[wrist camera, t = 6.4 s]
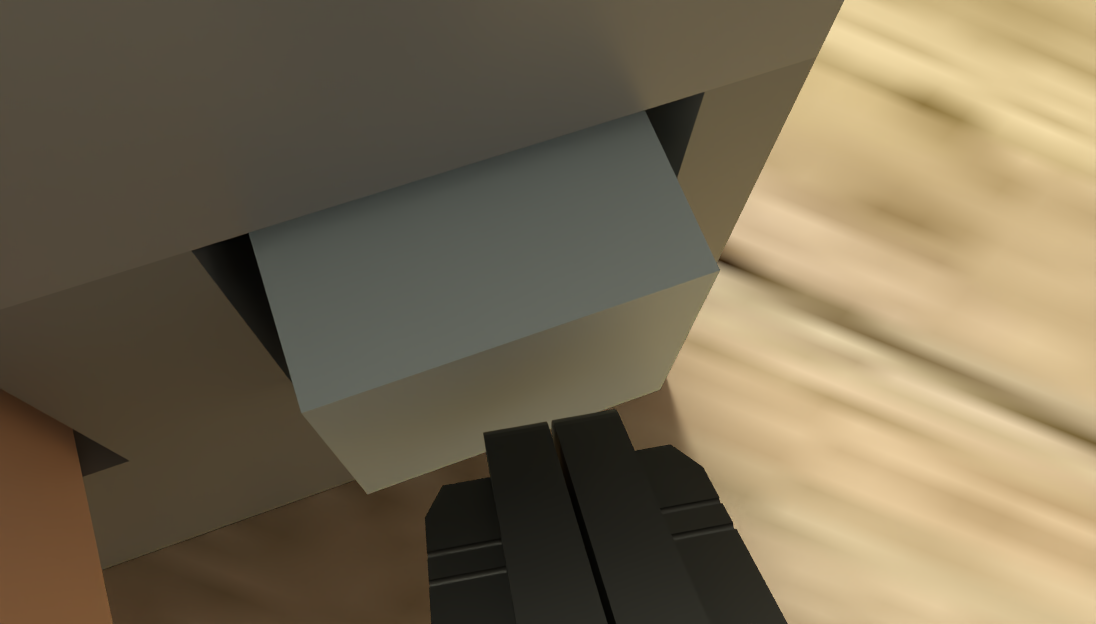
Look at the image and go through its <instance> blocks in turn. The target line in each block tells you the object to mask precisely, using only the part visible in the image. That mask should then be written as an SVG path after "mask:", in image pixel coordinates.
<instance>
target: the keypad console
mask: <svg viewBox="0 0 1096 624" xmlns="http://www.w3.org/2000/svg"><path fill="white" fill-rule="evenodd" d="M843 2H844V0H0V389H2V390H4V391H6V392H7V393H9V394H11V395H13V396H15V397H16V398H18V399H20V400H22V401H24V402H25V403H27V404H29V405H31V406H33V407H34V408H36V409H38V410H40V411H41V412H43V413H45V414H47V415H49V416H50V417H52V418H54V419H56V420H58V421H59V422H61V423H63V424H65V425H66V426H68V427H70V428H72V429H73V434H74V439H75V443H76V448H77V453H78V458H79V463H80V467H81V472H82V477H83V482H84V487H85V491H86V496H87V501H88V506H89V511H90V515H91V520H92V525H93V530H94V535H95V540H96V544H97V549H98V554H99V559H100V564H101V568H102V570H103V569H106V568H109V567H111V566H114V565H117V564H120V563H123V562H126V561H128V560H131V559H134V558H137V557H140V556H142V555H145V554H148V553H151V552H154V551H157V550H159V549H162V548H165V547H168V546H171V545H173V544H176V543H179V542H182V541H185V540H188V539H190V538H193V537H196V536H199V535H202V534H204V533H207V532H210V531H213V530H216V529H219V528H221V527H224V526H227V525H230V524H233V523H235V522H238V521H241V520H244V519H247V518H250V517H252V516H255V515H258V514H261V513H264V512H266V511H269V510H272V509H275V508H278V507H281V506H283V505H286V504H289V503H292V502H295V501H297V500H300V499H303V498H306V497H309V496H312V495H314V494H317V493H320V492H323V491H326V490H328V489H331V488H334V487H337V486H340V485H343V484H345V483H348V482H351V481H354V480H355V478H354V477H353V476H352V475H351V474H350V472H349V471H348V470H347V469H346V467H345V466H344V465H343V464H342V463H341V461H340V460H339V459H338V458H337V456H336V455H335V454H334V453H333V451H332V450H331V449H330V448H329V447H328V445H327V444H326V443H325V442H324V440H323V439H322V438H321V437H320V435H319V434H318V433H317V432H316V431H315V429H314V428H313V427H312V426H311V424H310V423H309V422H308V421H307V420H306V418H305V417H304V416H303V415H302V413H301V410H300V407H299V404H298V400H297V397H296V393H295V390H294V386H293V383H292V380H291V376H290V373H289V369H288V366H287V362H286V359H285V356H284V352H283V349H282V345H281V342H280V339H279V335H278V332H277V328H276V325H275V321H274V318H273V315H272V311H271V308H270V304H269V301H268V298H267V294H266V291H265V287H264V284H263V280H262V277H261V274H260V270H259V267H258V263H257V260H256V256H255V253H254V250H253V246H252V243H251V239H250V236H249V233H250V232H253V231H256V230H259V229H262V228H266V227H269V226H272V225H275V224H279V223H282V222H285V221H288V220H292V219H295V218H298V217H301V216H304V215H308V214H311V213H314V212H317V211H321V210H324V209H327V208H330V207H334V206H337V205H340V204H343V203H346V202H350V201H353V200H356V199H359V198H363V197H366V196H369V195H372V194H376V193H379V192H382V191H385V190H388V189H392V188H395V187H398V186H401V185H405V184H408V183H411V182H414V181H418V180H421V179H424V178H427V177H430V176H434V175H437V174H440V173H443V172H447V171H450V170H453V169H456V168H460V167H463V166H466V165H469V164H472V163H476V162H479V161H482V160H485V159H489V158H492V157H495V156H498V155H502V154H505V153H508V152H511V151H514V150H518V149H521V148H524V147H527V146H531V145H534V144H537V143H540V142H544V141H547V140H550V139H553V138H556V137H560V136H563V135H566V134H569V133H573V132H576V131H579V130H582V129H586V128H589V127H592V126H595V125H599V124H602V123H605V122H608V121H611V120H615V119H618V118H621V117H624V116H628V115H631V114H634V113H637V112H641V111H644V110H645V112H646V114H647V116H648V118H649V120H650V122H651V124H652V126H653V129H654V131H655V133H656V135H657V137H658V139H659V141H660V144H661V146H662V148H663V150H664V152H665V154H666V156H667V158H668V161H669V163H670V165H671V167H672V169H673V171H674V173H675V175H676V178H677V180H678V182H679V184H680V186H681V188H682V190H683V193H684V195H685V197H686V199H687V201H688V203H689V205H690V207H691V210H692V212H693V214H694V216H695V218H696V220H697V222H698V224H699V227H700V229H701V231H702V233H703V235H704V237H705V239H706V242H707V244H708V246H709V248H710V250H711V252H712V254H713V256H714V259H715V261H716V263H717V261H718V259H719V257H720V255H721V253H722V251H723V249H724V247H725V245H726V243H727V241H728V239H729V237H730V235H731V233H732V230H733V228H734V226H735V224H736V222H737V220H738V218H739V216H740V214H741V212H742V210H743V208H744V206H745V204H746V202H747V200H748V197H749V195H750V193H751V191H752V189H753V187H754V185H755V183H756V181H757V179H758V177H759V175H760V173H761V171H762V169H763V167H764V165H765V162H766V160H767V158H768V156H769V154H770V152H771V150H772V148H773V146H774V144H775V142H776V140H777V138H778V136H779V134H780V132H781V129H782V127H783V125H784V123H785V121H786V119H787V117H788V115H789V113H790V111H791V109H792V107H793V105H794V103H795V101H796V99H797V96H798V94H799V92H800V90H801V88H802V86H803V84H804V82H805V80H806V78H807V76H808V74H809V72H810V70H811V68H812V66H813V64H814V61H815V59H816V57H817V55H818V53H819V51H820V49H821V47H822V45H823V43H824V41H825V39H826V37H827V35H828V33H829V31H830V28H831V26H832V24H833V22H834V20H835V18H836V16H837V14H838V12H839V10H840V8H841V6H842V4H843Z"/></svg>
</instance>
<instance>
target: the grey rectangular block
mask: <svg viewBox="0 0 1096 624" xmlns="http://www.w3.org/2000/svg"><path fill="white" fill-rule="evenodd" d="M249 236H250V239H251V243H252V246H253V250H254V253H255V256H256V260H257V263H258V267H259V270H260V274H261V277H262V280H263V284H264V287H265V291H266V294H267V298H268V301H269V304H270V308H271V311H272V315H273V318H274V321H275V325H276V328H277V332H278V335H279V339H280V342H281V345H282V349H283V352H284V356H285V359H286V362H287V366H288V369H289V373H290V376H291V380H292V383H293V386H294V390H295V393H296V397H297V400H298V404H299V407H300V410H301V413H302V415H303V416H304V417H305V418H306V420H307V421H308V422H309V423H310V424H311V426H312V427H313V428H314V429H315V431H316V432H317V433H318V434H319V435H320V437H321V438H322V439H323V440H324V442H325V443H326V444H327V445H328V447H329V448H330V449H331V450H332V451H333V453H334V454H335V455H336V456H337V458H338V459H339V460H340V461H341V463H342V464H343V465H344V466H345V467H346V469H347V470H348V471H349V472H350V474H351V475H352V476H353V477H354V478H355V480H356V481H357V482H358V483H359V485H360V486H361V487H362V488H363V490H364V491H365V492H366V493H367V494H370V493H373V492H376V491H379V490H381V489H384V488H387V487H390V486H393V485H395V484H398V483H401V482H404V481H407V480H409V479H412V478H415V477H418V476H421V475H423V474H426V473H429V472H432V471H435V470H437V469H440V468H443V467H446V466H449V465H451V464H454V463H457V462H460V461H463V460H465V459H468V458H471V457H474V456H476V455H479V454H482V453H485V452H486V448H485V442H484V436H483V432H488V431H494V430H500V429H505V428H511V427H517V426H523V425H528V424H534V423H540V422H545V421H547V423H548V426H549V429H552V428H551V422H552V420H556V419H561V418H567V417H573V416H578V415H584V414H590V413H596V412H599V411H602V410H605V409H608V408H611V407H613V406H616V405H619V404H622V403H625V402H627V401H630V400H633V399H636V398H639V397H641V396H644V395H647V394H650V393H653V392H655V391H658V390H660V389H661V387H662V385H663V383H664V381H665V379H666V377H667V375H668V373H669V371H670V369H671V367H672V365H673V363H674V361H675V359H676V357H677V355H678V353H679V351H680V349H681V347H682V345H683V343H684V341H685V339H686V337H687V335H688V333H689V331H690V329H691V327H692V325H693V323H694V321H695V319H696V317H697V315H698V313H699V311H700V309H701V307H702V305H703V303H704V301H705V299H706V297H707V295H708V293H709V291H710V289H711V287H712V285H713V283H714V281H715V279H716V277H717V275H718V273H719V271H720V269H719V267H718V265H717V263H716V261H715V259H714V256H713V254H712V252H711V250H710V248H709V246H708V244H707V242H706V239H705V237H704V235H703V233H702V231H701V229H700V227H699V224H698V222H697V220H696V218H695V216H694V214H693V212H692V210H691V207H690V205H689V203H688V201H687V199H686V197H685V195H684V193H683V190H682V188H681V186H680V184H679V182H678V180H677V178H676V175H675V173H674V171H673V169H672V167H671V165H670V163H669V161H668V158H667V156H666V154H665V152H664V150H663V148H662V146H661V144H660V141H659V139H658V137H657V135H656V133H655V131H654V129H653V126H652V124H651V122H650V120H649V118H648V116H647V114H646V112H645V110H644V111H641V112H637V113H634V114H631V115H628V116H624V117H621V118H618V119H615V120H611V121H608V122H605V123H602V124H599V125H595V126H592V127H589V128H586V129H582V130H579V131H576V132H573V133H569V134H566V135H563V136H560V137H556V138H553V139H550V140H547V141H544V142H540V143H537V144H534V145H531V146H527V147H524V148H521V149H518V150H514V151H511V152H508V153H505V154H502V155H498V156H495V157H492V158H489V159H485V160H482V161H479V162H476V163H472V164H469V165H466V166H463V167H460V168H456V169H453V170H450V171H447V172H443V173H440V174H437V175H434V176H430V177H427V178H424V179H421V180H418V181H414V182H411V183H408V184H405V185H401V186H398V187H395V188H392V189H388V190H385V191H382V192H379V193H376V194H372V195H369V196H366V197H363V198H359V199H356V200H353V201H350V202H346V203H343V204H340V205H337V206H334V207H330V208H327V209H324V210H321V211H317V212H314V213H311V214H308V215H304V216H301V217H298V218H295V219H292V220H288V221H285V222H282V223H279V224H275V225H272V226H269V227H266V228H262V229H259V230H256V231H253V232H250V233H249Z"/></svg>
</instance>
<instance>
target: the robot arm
mask: <svg viewBox="0 0 1096 624" xmlns="http://www.w3.org/2000/svg"><path fill="white" fill-rule="evenodd" d="M551 428H552V435H551V432H550V429H549V426H548V423H547V421H545V422H540V423H534V424H528V425H523V426H517V427H511V428H505V429H500V430H494V431H488V432H483V436H484V442H485V448H486V455H487V461H488V467H489V473H490V477H488V478H482V479H477V480H471V481H466V482H460V483H455V484H449V485H443V486H442V488H441V490H440V491H439V493H438V495H437V497H436V499H435V501H434V502H433V504H432V506H431V508H430V510H429V512H428V513H427V515H426V517H425V525H426V542H427V554H428V576H429V585H430V587H429V592H430V609H431V624H788V623H787V622H786V620H785V618H784V616H783V614H782V612H781V611H780V609H779V607H778V605H777V603H776V601H775V599H774V598H773V596H772V594H771V592H770V590H769V588H768V586H767V585H766V583H765V581H764V579H763V577H762V575H761V574H760V572H759V570H758V568H757V566H756V564H755V562H754V561H753V559H752V557H751V555H750V553H749V551H748V550H747V548H746V546H745V544H744V542H743V540H742V538H741V537H740V535H739V533H738V531H737V529H734V527H733V522H732V520H731V518H730V516H729V514H728V513H727V511H726V509H725V507H724V505H723V503H720V500H719V496H718V494H717V492H716V490H715V489H714V487H713V485H712V483H711V481H710V479H709V478H708V476H707V474H706V472H705V470H704V468H703V467H702V466H701V465H699V464H698V463H696V462H695V461H693V460H692V459H691V458H689V457H688V456H686V455H685V454H683V453H682V452H681V451H679V450H678V449H676V448H675V447H673V446H672V445H665V446H659V447H654V448H648V449H643V450H637V451H635V450H634V448H633V446H632V444H631V441H630V439H629V437H628V434H627V432H626V430H625V428H624V425H623V423H622V421H621V418H620V416H619V414H618V412H617V411H616V410H615V409H613V410H607V411H601V412H596V413H590V414H584V415H578V416H573V417H567V418H561V419H556V420H552V422H551Z"/></svg>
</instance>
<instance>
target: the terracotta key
mask: <svg viewBox="0 0 1096 624" xmlns="http://www.w3.org/2000/svg"><path fill="white" fill-rule="evenodd" d="M0 624H113V621H112V616H111V612H110V607H109V602H108V597H107V592H106V588H105V583H104V578H103V573H102V568H101V564H100V559H99V554H98V549H97V544H96V540H95V535H94V530H93V525H92V520H91V515H90V511H89V506H88V501H87V496H86V491H85V487H84V482H83V477H82V472H81V467H80V463H79V458H78V453H77V448H76V443H75V439H74V434H73V429H72V428H70V427H68V426H66V425H65V424H63V423H61V422H59V421H58V420H56V419H54V418H52V417H50V416H49V415H47V414H45V413H43V412H41V411H40V410H38V409H36V408H34V407H33V406H31V405H29V404H27V403H25V402H24V401H22V400H20V399H18V398H16V397H15V396H13V395H11V394H9V393H7V392H6V391H4V390H2V389H0Z"/></svg>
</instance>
